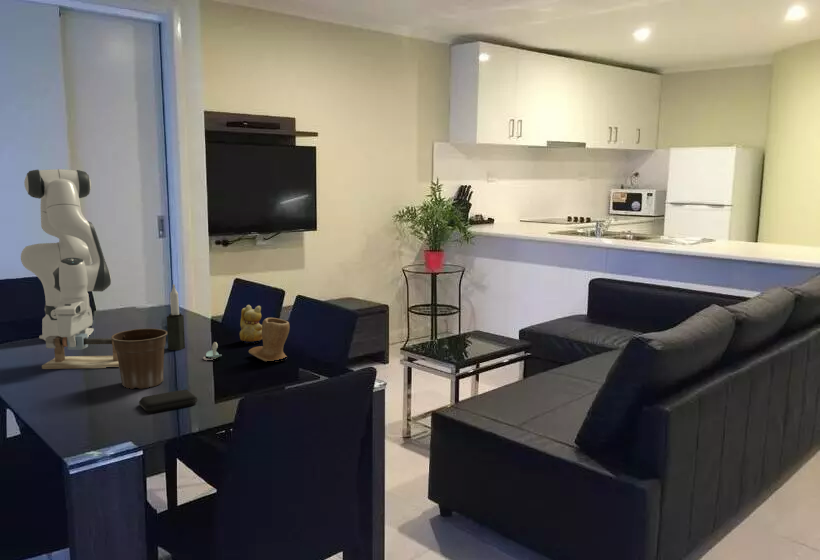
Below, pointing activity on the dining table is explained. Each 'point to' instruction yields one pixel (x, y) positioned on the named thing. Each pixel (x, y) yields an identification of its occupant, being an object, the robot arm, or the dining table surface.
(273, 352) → the brown clay boot vase
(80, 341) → the marker sleeve
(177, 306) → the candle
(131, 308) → the dining table surface
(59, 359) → the cord stand
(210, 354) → the pacifier
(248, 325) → the decorative figurine
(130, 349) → the plant pot
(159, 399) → the carrying case or bag
